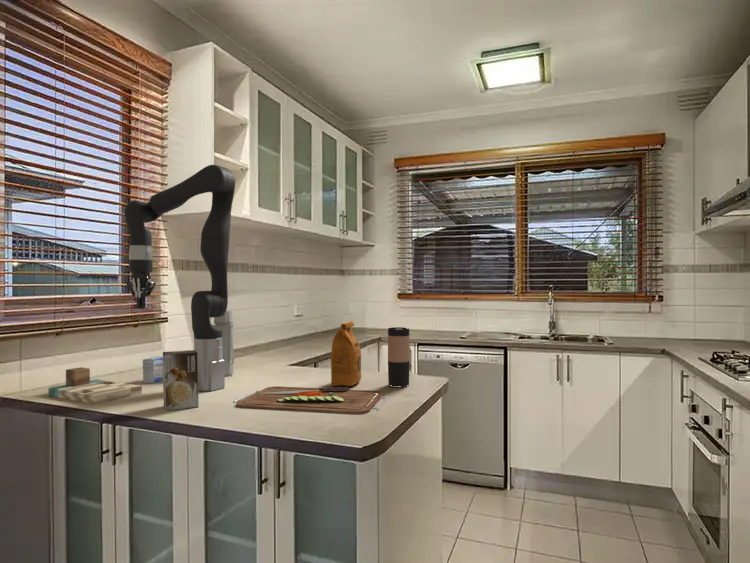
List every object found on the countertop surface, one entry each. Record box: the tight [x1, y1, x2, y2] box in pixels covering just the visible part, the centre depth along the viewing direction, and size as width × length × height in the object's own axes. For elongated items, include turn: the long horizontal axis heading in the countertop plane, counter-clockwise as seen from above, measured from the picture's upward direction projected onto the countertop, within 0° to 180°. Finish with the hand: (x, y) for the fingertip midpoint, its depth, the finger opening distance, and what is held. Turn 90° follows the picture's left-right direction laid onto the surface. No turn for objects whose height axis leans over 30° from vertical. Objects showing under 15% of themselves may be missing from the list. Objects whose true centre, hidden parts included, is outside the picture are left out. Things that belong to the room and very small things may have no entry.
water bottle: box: [213, 309, 236, 378], centre depth 198 cm, size 9×8×25 cm
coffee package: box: [330, 320, 362, 387], centre depth 181 cm, size 10×12×22 cm
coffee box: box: [162, 349, 200, 412], centre depth 149 cm, size 9×6×16 cm
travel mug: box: [387, 326, 411, 386], centre depth 179 cm, size 8×8×20 cm
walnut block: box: [65, 367, 91, 386], centre depth 170 cm, size 5×5×5 cm
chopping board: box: [232, 385, 390, 415], centre depth 157 cm, size 45×27×3 cm, turn 78°
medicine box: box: [142, 355, 163, 384], centre depth 187 cm, size 8×4×9 cm, turn 168°
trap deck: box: [47, 378, 143, 405], centre depth 165 cm, size 24×16×2 cm, turn 62°
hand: (140, 308), depth 179 cm, fingers closed
